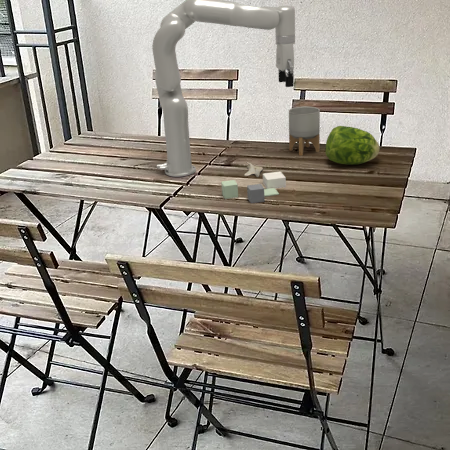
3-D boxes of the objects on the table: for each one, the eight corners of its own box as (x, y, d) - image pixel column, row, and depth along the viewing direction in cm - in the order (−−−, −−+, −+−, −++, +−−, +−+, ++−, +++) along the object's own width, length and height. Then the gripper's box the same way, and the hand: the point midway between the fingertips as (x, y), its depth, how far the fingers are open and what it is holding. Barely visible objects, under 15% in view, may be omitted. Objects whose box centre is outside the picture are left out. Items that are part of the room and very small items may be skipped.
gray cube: (250, 203, 221) (250, 190, 219) (247, 198, 226) (247, 185, 224) (264, 201, 222) (264, 188, 220) (261, 196, 227) (260, 183, 225)
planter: (285, 154, 268) (285, 113, 260) (293, 145, 279) (293, 106, 271) (315, 156, 264) (315, 114, 256) (322, 147, 274) (322, 106, 267)
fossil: (243, 178, 246) (242, 169, 245) (246, 168, 256) (246, 160, 254) (260, 178, 245) (260, 169, 243) (263, 168, 254) (263, 160, 253)
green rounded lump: (377, 176, 246) (390, 138, 242) (326, 162, 244) (338, 124, 240) (366, 168, 262) (378, 132, 258) (318, 155, 259) (330, 119, 255)
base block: (267, 189, 233) (267, 179, 231) (262, 183, 239) (262, 173, 237) (285, 187, 234) (285, 177, 232) (280, 181, 240) (280, 171, 238)
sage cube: (224, 199, 226) (223, 186, 224) (222, 194, 231) (221, 181, 229) (238, 197, 227) (237, 184, 225) (235, 192, 232) (234, 179, 230)
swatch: (262, 196, 226) (262, 195, 226) (258, 190, 232) (258, 189, 231) (278, 194, 227) (278, 193, 227) (274, 188, 232) (274, 187, 232)
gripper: (270, 37, 250) (271, 81, 257) (282, 43, 234) (283, 89, 241) (288, 36, 251) (288, 79, 258) (301, 42, 235) (301, 87, 242)
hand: (286, 84), depth 249 cm, fingers open, 9 cm apart
